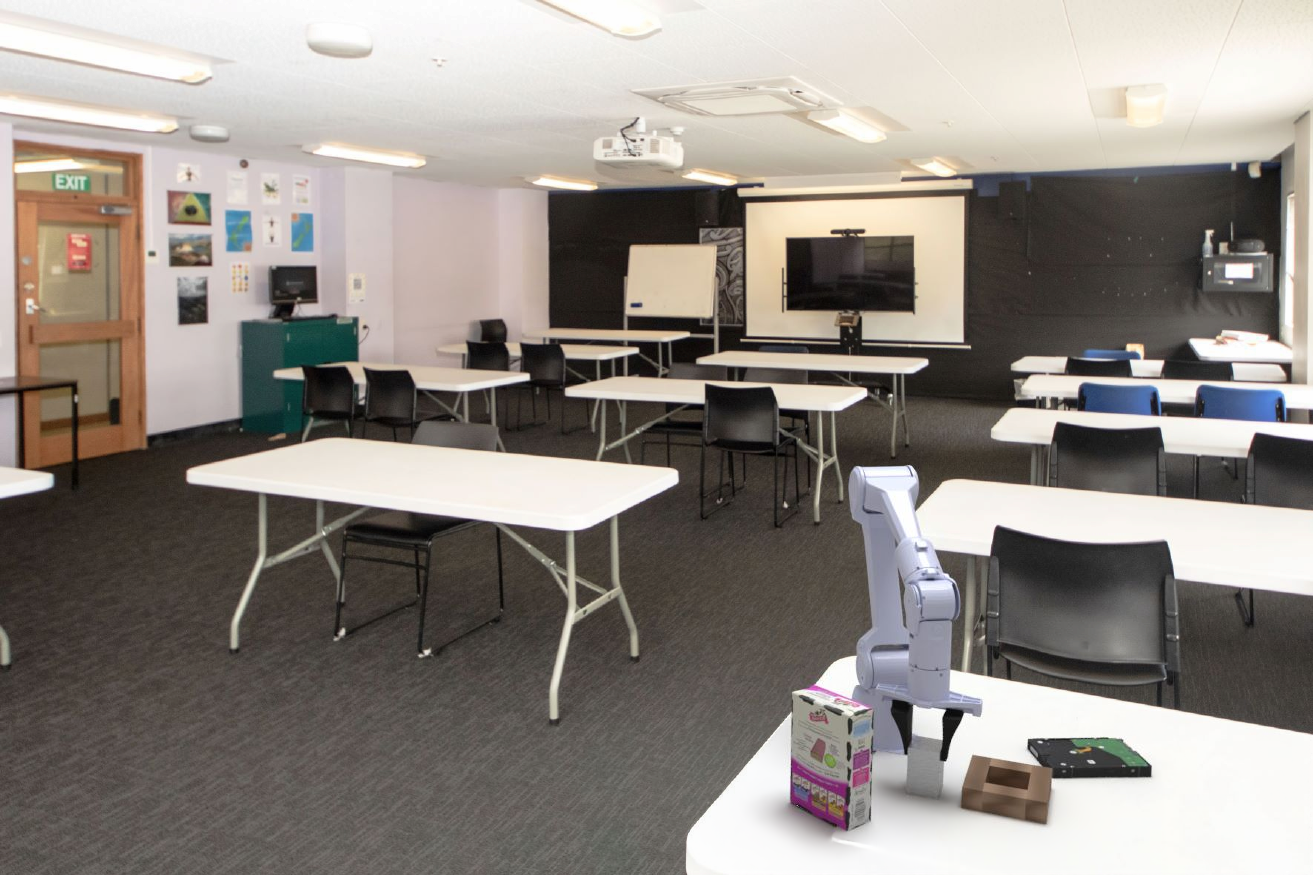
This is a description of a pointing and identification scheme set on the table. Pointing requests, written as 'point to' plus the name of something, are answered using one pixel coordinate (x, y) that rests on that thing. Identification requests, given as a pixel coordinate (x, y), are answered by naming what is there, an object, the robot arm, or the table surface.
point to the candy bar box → (831, 756)
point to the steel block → (925, 767)
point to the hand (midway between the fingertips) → (926, 755)
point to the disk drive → (1088, 757)
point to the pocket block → (1007, 789)
